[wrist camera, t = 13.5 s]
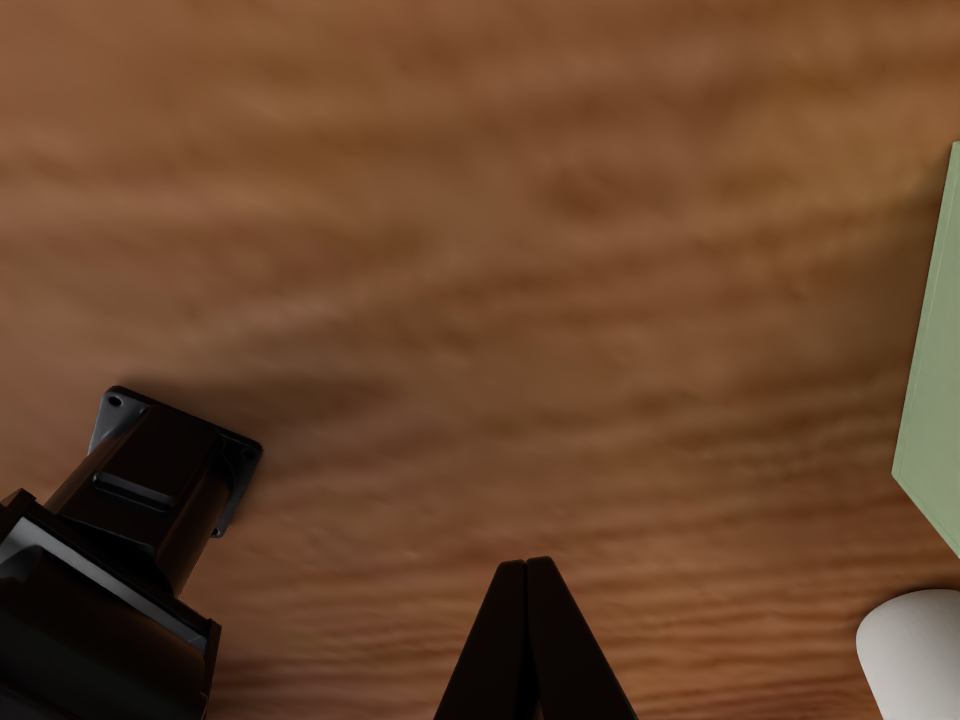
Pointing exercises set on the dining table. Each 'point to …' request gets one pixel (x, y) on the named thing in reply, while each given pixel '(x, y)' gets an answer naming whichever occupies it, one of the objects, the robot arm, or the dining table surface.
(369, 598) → the dining table surface
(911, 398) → the carton
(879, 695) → the cup
